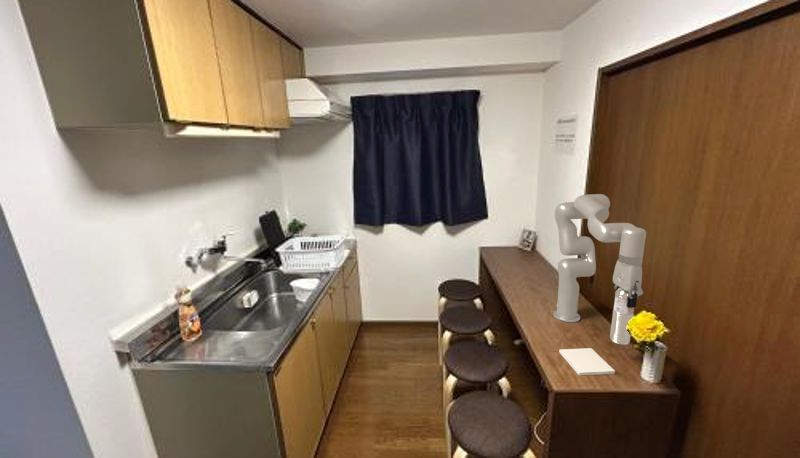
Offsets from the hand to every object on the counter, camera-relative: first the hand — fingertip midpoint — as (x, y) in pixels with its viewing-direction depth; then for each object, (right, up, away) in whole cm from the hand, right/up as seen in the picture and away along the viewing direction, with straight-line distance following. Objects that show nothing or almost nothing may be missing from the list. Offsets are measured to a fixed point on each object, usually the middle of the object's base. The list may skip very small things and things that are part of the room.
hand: (624, 302), depth 134 cm
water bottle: (+1, -16, +4) cm, 17 cm away
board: (-12, -26, +6) cm, 29 cm away
